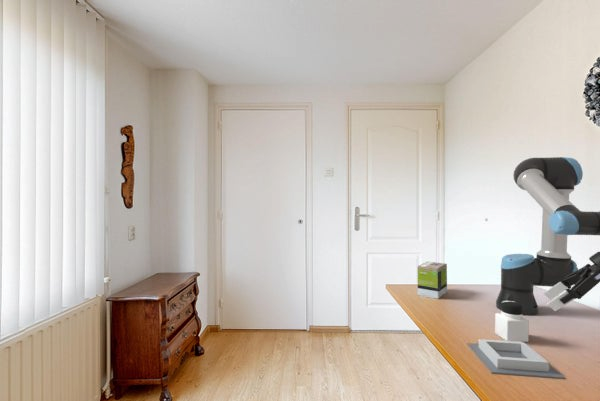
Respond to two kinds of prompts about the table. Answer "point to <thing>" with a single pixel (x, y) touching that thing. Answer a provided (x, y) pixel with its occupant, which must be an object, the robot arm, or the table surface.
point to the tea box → (432, 279)
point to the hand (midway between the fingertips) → (548, 301)
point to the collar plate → (513, 359)
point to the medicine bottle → (511, 322)
